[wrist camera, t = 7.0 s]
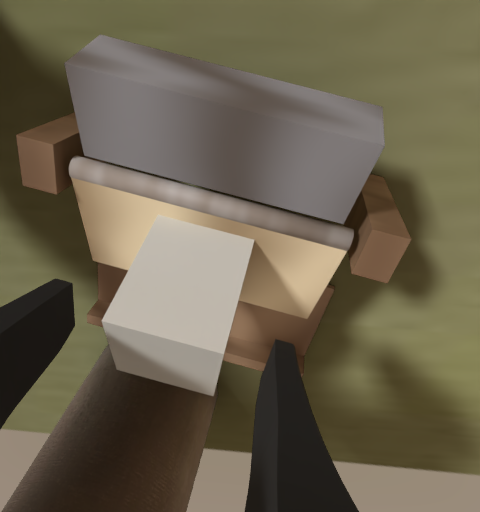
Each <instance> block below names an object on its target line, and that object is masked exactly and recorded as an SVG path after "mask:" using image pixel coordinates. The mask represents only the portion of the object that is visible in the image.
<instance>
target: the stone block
mask: <svg viewBox="0 0 480 512" xmlns="http://www.w3.org/2000/svg"><path fill="white" fill-rule="evenodd" d="M253 244H254V240H253V239H250V238H246V237H242V236H238V235H234V234H230V233H226V232H223V231H219V230H215V229H211V228H207V227H203V226H200V225H196V224H192V223H188V222H184V221H180V220H177V219H173V218H169V217H165V216H161V215H158V216H157V218H156V220H155V221H154V223H153V225H152V227H151V229H150V231H149V233H148V235H147V236H146V238H145V240H144V242H143V244H142V246H141V248H140V250H139V251H138V253H137V255H136V257H135V259H134V261H133V263H132V265H131V266H130V268H129V270H128V272H127V274H126V276H125V278H124V280H123V282H122V283H121V285H120V287H119V289H118V291H117V293H116V295H115V297H114V298H113V300H112V302H111V304H110V306H109V308H108V310H107V312H106V313H105V315H104V317H103V319H102V324H103V327H104V331H105V334H106V337H107V340H108V343H109V347H110V350H111V353H112V356H113V359H114V362H115V366H116V369H117V370H120V371H123V372H127V373H131V374H134V375H138V376H141V377H145V378H149V379H152V380H156V381H160V382H163V383H167V384H170V385H174V386H178V387H181V388H185V389H189V390H192V391H196V392H199V393H203V394H207V395H210V396H214V393H215V389H216V385H217V381H218V378H219V374H220V370H221V366H222V363H223V359H224V355H225V351H226V348H227V344H228V340H229V336H230V333H231V329H232V325H233V321H234V318H235V314H236V310H237V306H238V303H239V299H240V295H241V291H242V287H243V283H244V279H245V276H246V272H247V268H248V264H249V260H250V256H251V252H252V248H253Z"/></svg>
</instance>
